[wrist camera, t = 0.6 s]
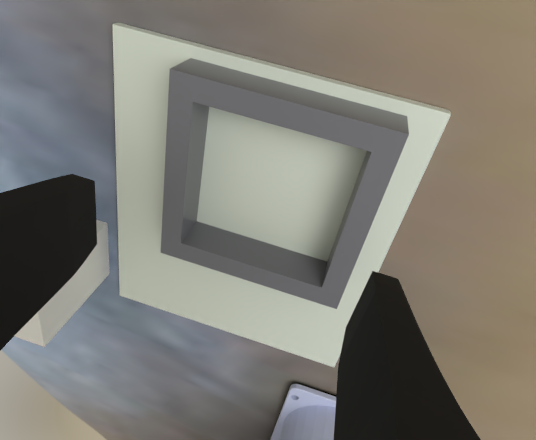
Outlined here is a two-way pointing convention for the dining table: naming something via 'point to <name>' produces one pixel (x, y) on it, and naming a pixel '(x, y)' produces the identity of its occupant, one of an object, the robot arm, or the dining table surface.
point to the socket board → (257, 188)
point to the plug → (70, 294)
